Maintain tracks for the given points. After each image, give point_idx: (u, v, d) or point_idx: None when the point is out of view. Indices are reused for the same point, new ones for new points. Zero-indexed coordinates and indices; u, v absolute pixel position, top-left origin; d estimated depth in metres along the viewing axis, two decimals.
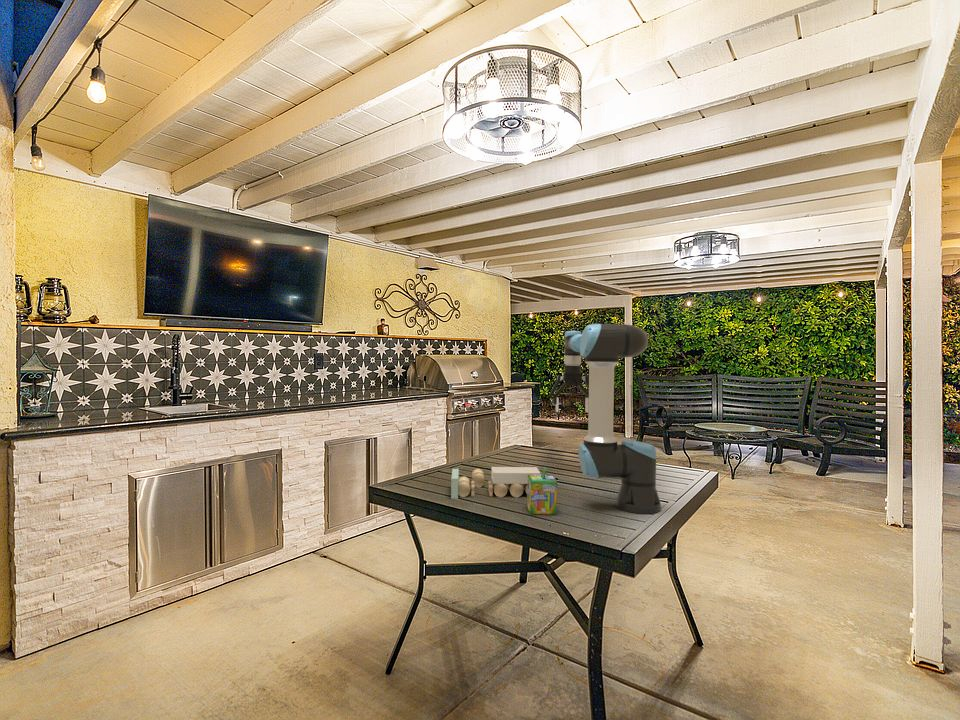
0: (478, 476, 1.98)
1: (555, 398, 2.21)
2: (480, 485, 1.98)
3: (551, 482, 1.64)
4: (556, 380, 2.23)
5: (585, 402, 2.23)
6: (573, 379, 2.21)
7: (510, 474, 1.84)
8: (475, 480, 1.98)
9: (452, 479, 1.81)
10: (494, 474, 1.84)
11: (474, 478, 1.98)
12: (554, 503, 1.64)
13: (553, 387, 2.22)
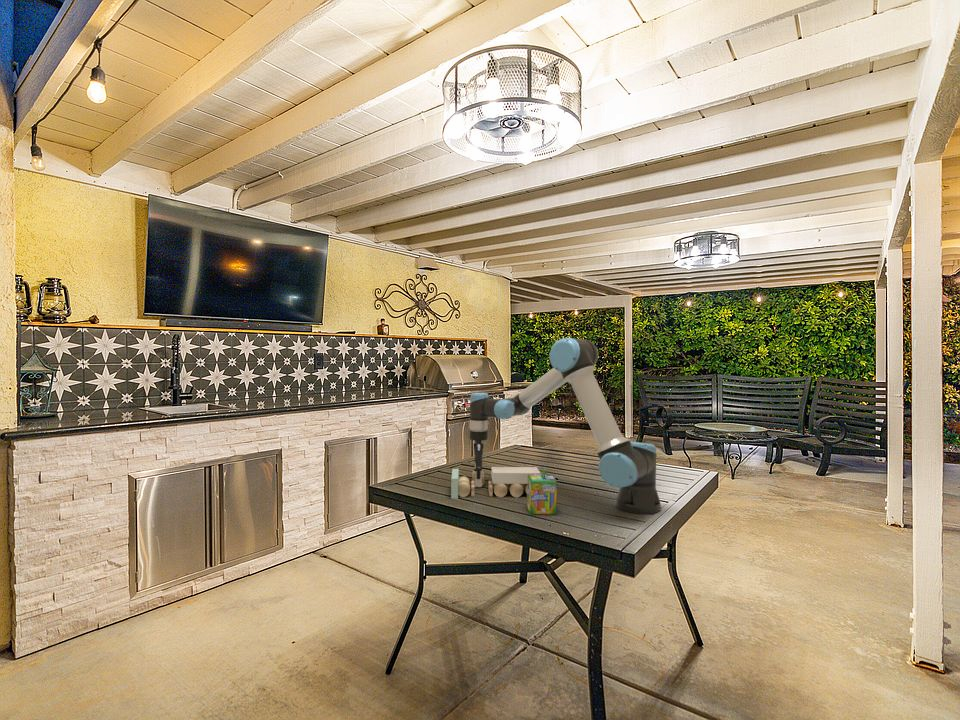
0: None
1: (476, 464, 2.10)
2: None
3: (551, 482, 1.64)
4: None
5: None
6: (475, 445, 2.03)
7: (510, 474, 1.84)
8: None
9: (452, 479, 1.81)
10: (494, 474, 1.84)
11: (474, 477, 1.98)
12: (554, 503, 1.64)
13: None
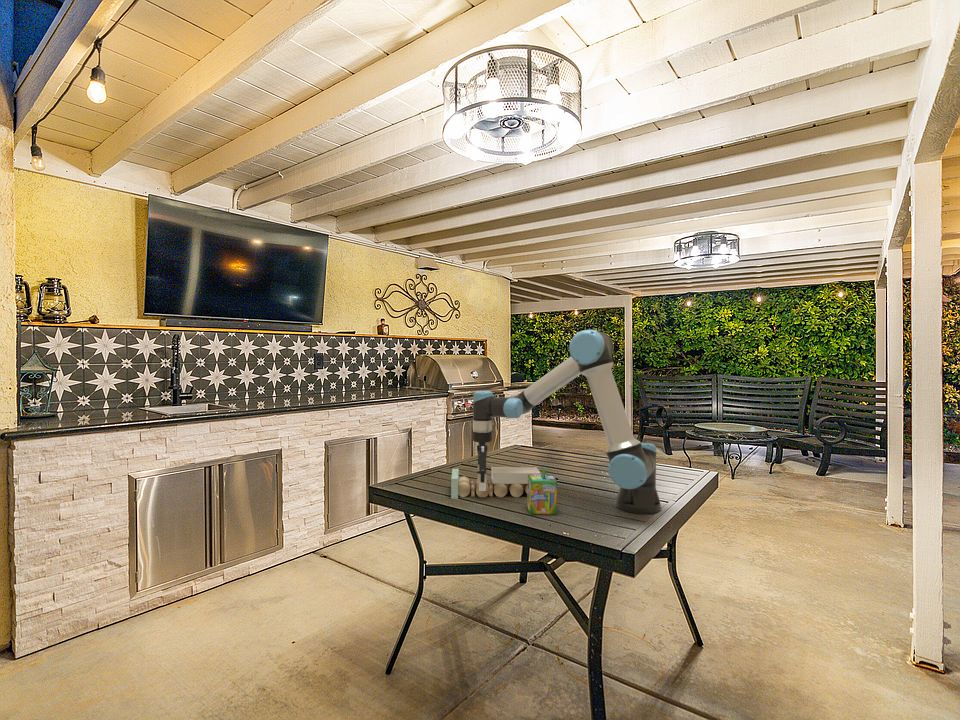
0: None
1: (479, 465, 1.97)
2: (484, 496, 1.84)
3: (551, 482, 1.64)
4: None
5: None
6: (479, 447, 1.89)
7: (510, 474, 1.84)
8: None
9: (452, 479, 1.81)
10: (494, 474, 1.84)
11: (478, 487, 1.83)
12: (554, 503, 1.64)
13: None
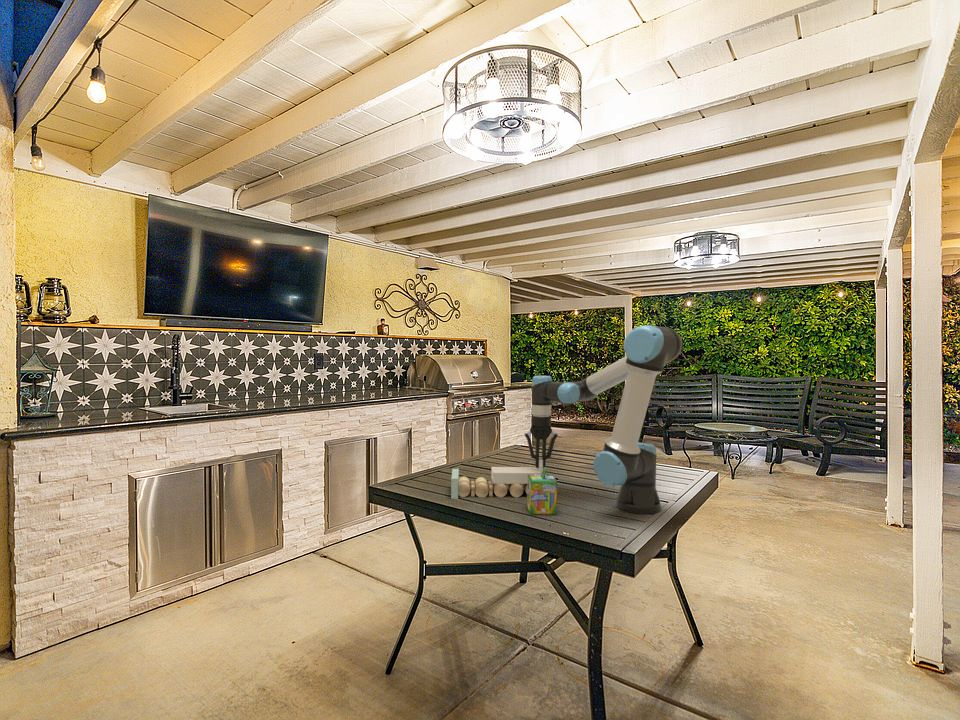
0: (481, 485, 1.83)
1: (539, 460, 1.89)
2: (484, 495, 1.84)
3: (551, 482, 1.64)
4: (527, 439, 1.91)
5: None
6: (542, 430, 1.89)
7: (510, 474, 1.84)
8: (478, 490, 1.83)
9: (452, 479, 1.81)
10: (494, 474, 1.84)
11: (477, 488, 1.83)
12: (554, 503, 1.64)
13: (529, 448, 1.89)
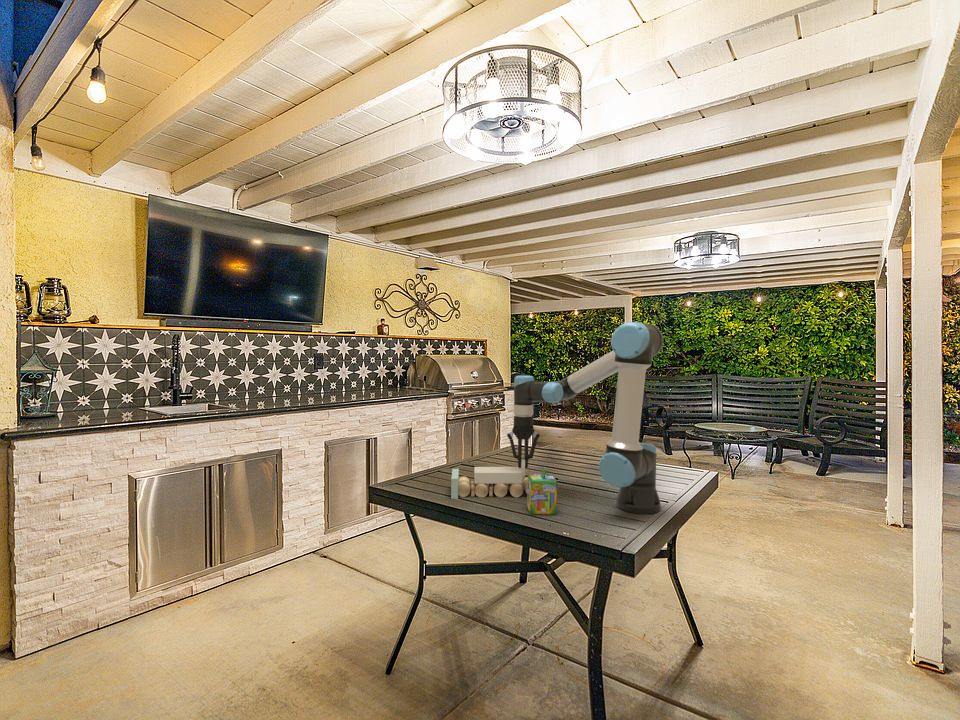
0: (481, 485, 1.83)
1: (521, 460, 1.89)
2: (484, 495, 1.84)
3: (551, 482, 1.64)
4: None
5: None
6: (524, 430, 1.88)
7: (492, 474, 1.84)
8: (478, 490, 1.83)
9: (452, 479, 1.81)
10: (476, 474, 1.84)
11: (477, 488, 1.83)
12: (554, 503, 1.64)
13: None
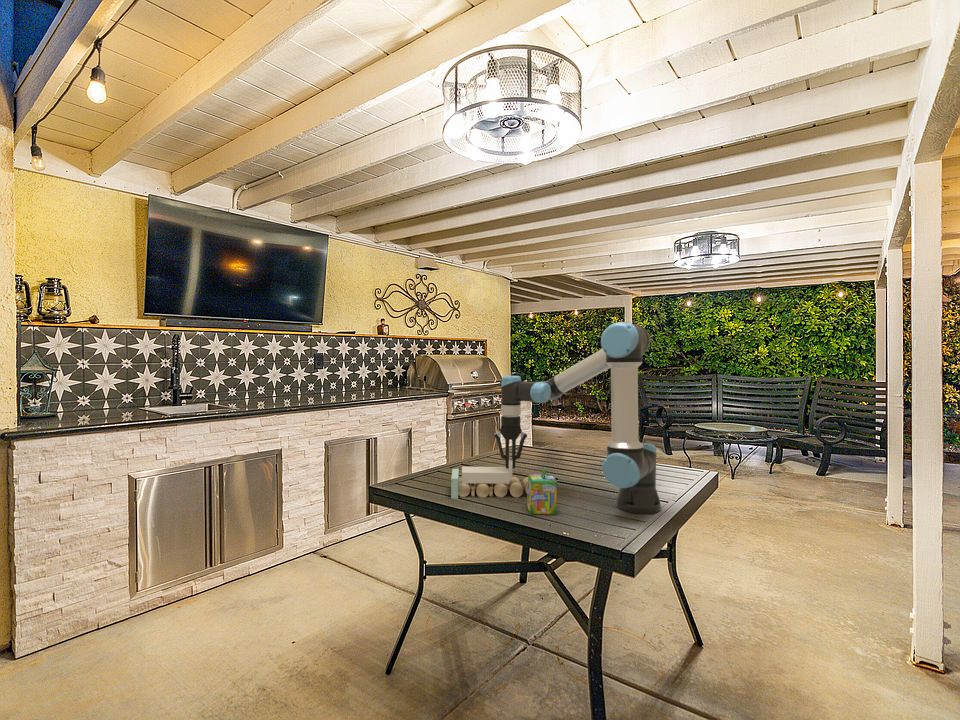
0: (481, 486, 1.83)
1: (509, 460, 1.89)
2: (486, 495, 1.84)
3: (551, 482, 1.64)
4: None
5: None
6: (512, 431, 1.88)
7: (479, 474, 1.84)
8: (479, 490, 1.83)
9: (452, 479, 1.81)
10: (463, 474, 1.84)
11: (477, 489, 1.84)
12: (554, 503, 1.64)
13: (499, 448, 1.89)
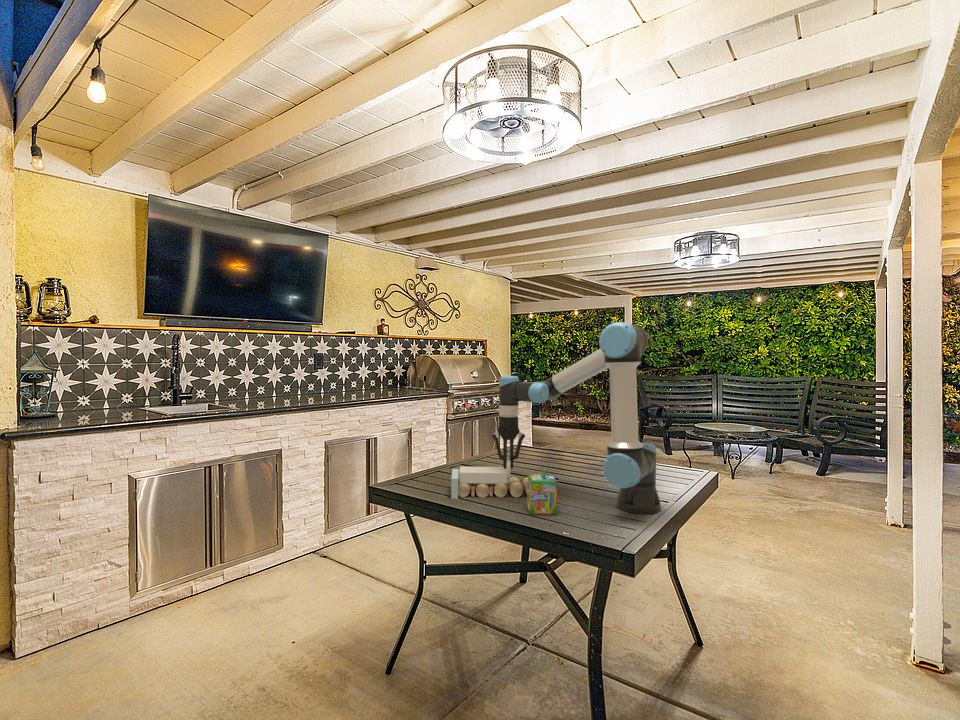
0: (481, 486, 1.83)
1: (507, 460, 1.89)
2: (486, 495, 1.84)
3: (551, 482, 1.64)
4: None
5: None
6: (510, 431, 1.88)
7: (477, 474, 1.84)
8: (478, 490, 1.83)
9: (452, 479, 1.81)
10: (461, 474, 1.84)
11: (477, 489, 1.84)
12: (554, 503, 1.64)
13: None
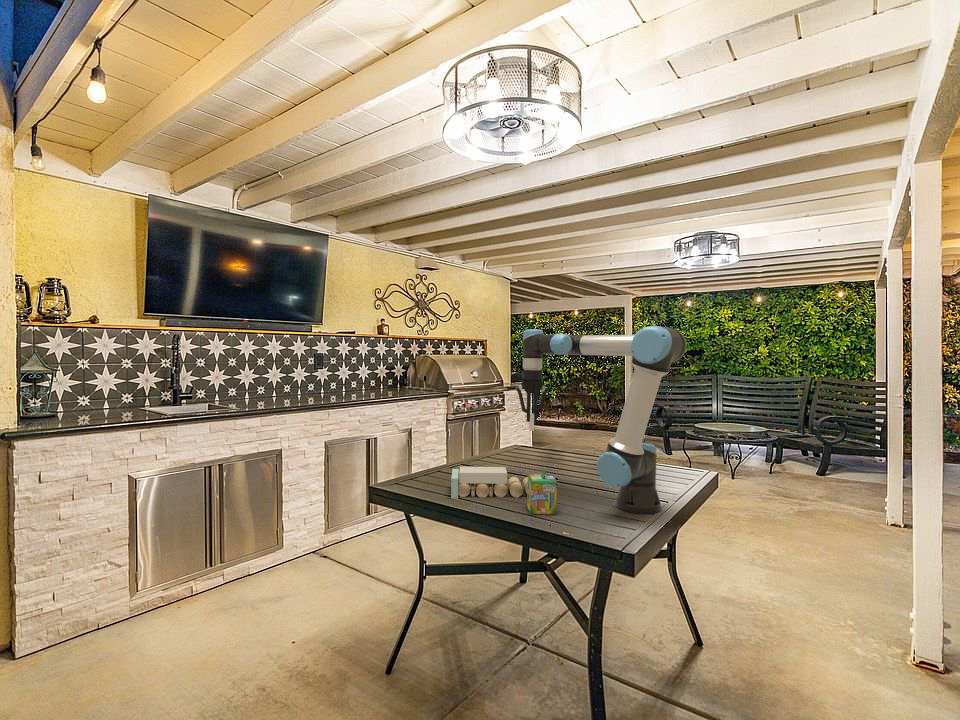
0: (481, 486, 1.83)
1: (530, 414, 1.89)
2: (486, 495, 1.84)
3: (551, 482, 1.64)
4: (518, 393, 1.90)
5: None
6: (533, 384, 1.88)
7: (477, 474, 1.84)
8: (479, 490, 1.83)
9: (452, 479, 1.81)
10: (461, 474, 1.84)
11: (477, 489, 1.84)
12: (554, 503, 1.64)
13: (520, 402, 1.89)
